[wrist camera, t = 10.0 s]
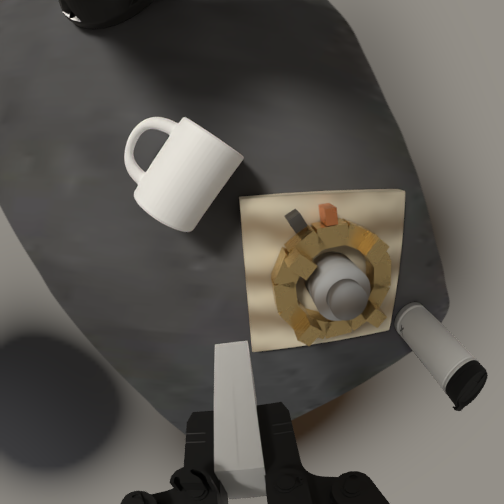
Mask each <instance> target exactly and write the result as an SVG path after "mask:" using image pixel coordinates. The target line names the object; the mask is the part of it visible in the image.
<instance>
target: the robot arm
mask: <svg viewBox="0 0 504 504" xmlns="http://www.w3.org/2000/svg"><path fill="white" fill-rule="evenodd" d="M152 1H153V0H59V3H60V6H61V9H62V12H63V13H64V15H65V16H66V17H67V18H68V19H69V20H70V21H72V22H73V23H74V24H76V25H78V26H80V27H82V28H87V29H100V28H106V27H110V26H113V25H116V24H119V23H121V22H123V21H126V20H128V19H129V18H131V17H133V16H135V15H136V14H138V13H139V12H140V11H142V10H143V9H144V8H146V7H147V6H148V5H149V4H150V3H151V2H152ZM186 434H187V435H186V444H185V459H184V467H183V468H181V469H179V470H177V471H176V472H175V473H174V474H173V475H172V476H171V479H170V483H171V485H172V486H173V487H174V488H173V489H171V490H168V491H165V492H161V493H156V494H149V493H147V492H144V491H134V492H131V493H129V494H127V495H126V496H125V497H124V499H123V500H122V502H121V504H228V498H229V499H239V498H250V497H260V496H267V502H268V504H389V502H388V501H387V500H386V498H385V497H384V496H383V495H382V493H381V492H380V491H379V489H378V488H377V487H376V485H375V484H374V483H373V481H372V480H371V479H370V478H369V477H368V476H367V475H366V474H364V473H361V472H357V471H354V472H352V471H351V472H347V473H344V474H342V475H340V476H339V477H322V476H316V475H313V474H311V473H309V472H308V471H306V470H305V469H304V467H303V466H302V463H301V460H300V456H299V452H298V448H297V443H296V439H295V435H294V431H293V426H292V423H291V418H290V413H289V410H288V409H287V408H286V407H285V406H284V404H283V403H282V402H278V403H271V404H264V405H257V401H256V393H255V386H254V378H253V372H252V366H251V360H250V353H249V347H248V341H240V342H232V343H224V344H215V365H214V411H204V412H193V413H192V415H191V416H190V418H189V420H188V421H187V430H186Z"/></svg>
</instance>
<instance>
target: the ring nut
mask: <svg viewBox="0 0 504 504" xmlns="http://www.w3.org/2000/svg"><path fill="white" fill-rule="evenodd" d="M318 207H319V215H320V222H315V223H311V227H310V226H309V225H308V226H307V227H305V228H304V229H302V230H301V231H300V232H298V233H297V234H296V235H295V236H293V237H292V238H291V239H290V240H288V241H287V242H286V243H285V244H284V245H285V247H286V248H285V247H282V248H281V251H280V253H279V255H278V258H277V260H276V263H275V265H274V268H273V270H272V272H271V276H272V277H271V283H272V289H273V295H274V301H275V305H276V308H277V311H278V313H279V315H280V316H281V317H282V318H283V319H284V320H285V321H286V322H287V323H288V324H289V325H290V326H291V327H292V328H293V329H294V332H295V335H296V338H297V340H298V341H300V342H302V343H304V344H306V345H308V346H310V345H311V344H312V343H313V342H314V341H315V340H316V339H317V338H321V339H324V337H325V338H326V339H327V338H331V337H335V336H339V335H343V334H347V333H350V332H352V329H353V330H354V331H355V330H356V329H357V328H358V327H360V326H361V325H362V324H364V323H365V322H366V321H367V322H369V323H370V324H372V325H373V326H375V327H376V328H378V327H379V326H380V325H381V324H382V323H383V321H384V320H385V319H386V318H387V316H386V315H385V313H384V312H383V311H382V310H381V309H380V306H381V304H382V302H383V300H384V299H385V297H386V295H387V293H388V291H389V289H390V288H389V287H388V286H391V259H390V258H391V257H390V255H389V254H388V252H387V250H388V248H389V247H390V246H388V245H387V244H386V243H385V242H384V241H383V240H381V239H380V238H379V237H378V236H377V235H376V234H375V233H373V232H372V231H370V230H369V229H367V228H365V227H363V226H360V225H358V224H356V223H353V222H351V221H348V220H346V219H343V218H342V219H341V218H338V217H337V207H335V206H334V205H332V204H330V203H326V204H320V205H318ZM343 245H347V246H349V247H352V248H355V249H357V250H359V251H360V252H361V254H362V255H363V257H364V258H365V260H366V276H367V278H368V280H369V282H370V296H369V299H368V301H367V305H366V307H365V309H364V311H363V312H362V313H361V314H360V315H359V316H357V317H356V318H354V319H351V320H346V321H344V320H342V321H333V320H329V319H327V318H325V317H323V316H322V315H321V314H320V313H319V312H318V311H314V310H310V309H307V308H305V307H304V306H303V305H302V304H301V303H300V302H299V300H298V299H297V293H296V283H297V281H298V279H299V276H300V277H302V278H303V279H305V280H307V279H308V278H309V276H310V275H311V274H312V273H313V271H314V270H315V269H316V268H317V267H318V266H317V265H316V263H315V262H314V261H313V259H312V258H313V257H315V256H316V255H317V254H318V253H320V252H321V251H322V250H323V249H328V248H333V247H338V246H343Z"/></svg>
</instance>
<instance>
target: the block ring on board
mask: <svg viewBox="0 0 504 504" xmlns="http://www.w3.org/2000/svg"><path fill="white" fill-rule="evenodd" d="M326 203H330V204H332V205H334V206H335V207H337V217H338V218H341V219H342V218H343V219H346V220H348V221H351V222H353V223H356V224H358V225H360V226H363V227H365V228H367V229H369V230H370V231H372V232H373V233H375V234H376V235H377V236H378V237H379V238H380V239H381V240H383V241H384V242H385V243H386V244H387V245H388V246H390V247H389V248H388V250H387V252H388V254H389V255H390V257H391V258H390V259H391V286H388V287H389V288H390V289H389V291H388V293H387V295H386V297H385V299H384V300H383V302H382V304H381V306H380V309H381V310H382V311H383V312H384V313H385V315H386V316H387V318H386V319H385V320H384V321H383V323H382V324H381V325H380V326H379V327H378V328H376V327H375V326H373V325H372V324H370V323H369V322H367V321H366V322H365V323H364V324H362V325H361V326H360V327H358V328H357V329H356V330H355V331H354V330H353V329H352V332H350V333H347V334H343V335H339V336H335V337H331V338H327V339H326V338H325V337H324V339H321V338H317V339H316V340H315V341H314V342H313V343H312V344H318V343H324V342H330V341H336V340H342V339H347V338H353V337H358V336H363V335H368V334H373V333H378V332H382V331H387V330H389V328H390V323H391V318H392V312H393V307H394V301H395V295H396V288H397V281H398V274H399V266H400V257H401V248H402V237H403V225H404V209H405V191H403V190H400V189H365V190H336V191H314V192H296V193H281V194H267V195H254V196H242V197H239V204H240V216H241V228H242V240H243V252H244V264H245V276H246V288H247V299H248V311H249V322H250V333H251V344H252V351H253V352H258V351H267V350H275V349H283V348H291V347H298V346H305V345H306V344H304V343H302V342H300V341H298V340H297V338H296V335H295V332H294V329H293V328H292V327H291V326H290V325H289V324H288V323H287V322H286V321H285V320H284V319H283V318H282V317H281V316H280V315H279V313H278V311H277V308H276V305H275V301H274V295H273V289H272V283H271V277H272V276H271V272H272V270H273V268H274V265H275V263H276V260H277V258H278V255H279V253H280V251H281V248H282V247H285V245H284V244H285V243H286V242H287V241H288V240H290V239H291V238H292V237H293V236H295V235H296V234H297V233H298V232H300V231H301V230H302V229H304V228H305V227H307V226H308V225H309V226H310V227H311V223H315V222H320V215H319V207H318V205H320V204H326ZM285 248H286V247H285ZM312 259H313V261H314V262H315V263H316V265H317V266H318V267H317V268H316V269H315V270H314V271H313V273H312V274H311V275H310V276H309V278H308V279H307V280H305V279H303V278H302V277H300V276H299V279H298V281H297V283H296V293H297V299H298V300H299V302H300V303H301V304H302V305H303V306H304V307H305V308H307V309H310V310H314V311H318V312H319V313H320V314H321V315H322V316H323V317H325V318H327V319H329V320H333V321H342V320H344V321H346V320H351V319H354V318H356V317H357V316H359V315H360V314H361V313H362V312H363V311H364V309H365V307H366V305H367V301H368V299H369V296H370V282H369V280H368V278H367V276H366V260H365V258H364V257H363V255H362V254H361V252H360V251H359V250H357V249H355V248H352V247H349V246H347V245H343V246H338V247H333V248H328V249H323V250H322V251H321V252H320V253H318V254H317V255H316V256H315V257H313V258H312ZM312 344H311V345H312Z"/></svg>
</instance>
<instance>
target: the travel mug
mask: <svg viewBox="0 0 504 504" xmlns="http://www.w3.org/2000/svg"><path fill="white" fill-rule="evenodd" d="M394 326H395V329H396V331H397V332H398V333H399V334H400V336H401V337H402V338H403V339H404V341H405V342H406V343H407V344H408V345H409V347H410V348H411V349H412V350H413V352H414V353H415V354H416V356H417V357H418V358H419V359H420V361H421V362H422V363H423V364H424V366H425V367H426V368H427V369H428V371H429V372H430V373H431V375H432V376H433V377H434V379H435V380H436V381H437V383H438V384H439V385H440V387H441V388H442V389H443V390H444V392H445V393H446V394H447V395H448V396H449V398H450V399H451V400H452V402H453V403H454V404H455V407H453V408H454V410H456V411H461V410H462V409H463V408H464V407H465V406H467V405H468V404H469V403H471V402H472V400H474V399H475V398H476V397H477V395H478V394H479V393H480V391H481V390H482V388H483V386H484V385H485V382H486V379H487V372H486V370H485V368H484V367H483V366H482V365H480V363H479V362H478V360H477V359H475V357H474V356H473V355H472V354H471V353H470V352H469V351H468V350H467V349H466V348H465V347H464V346H463V345H462V344H461V343H460V342H459V341H458V340H457V339H456V338H455V337H454V336H453V335H452V334H451V333H450V332H449V331H448V330H447V329H446V328H445V327H444V326H443V325H442V324H441V323H440V322H439V321H438V320H437V319H436V318H435V317H434V316H433V315H432V314H431V313H430V312H429V311H428V310H427V309H426V308H425V307H424V306H422V305H421V304H420V303H418V302H412V303H409V304H407V305H406V306H404V307H403V308H402V309H401V310H400V311H399V312H398V314H397V316H396V318H395V323H394Z"/></svg>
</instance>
